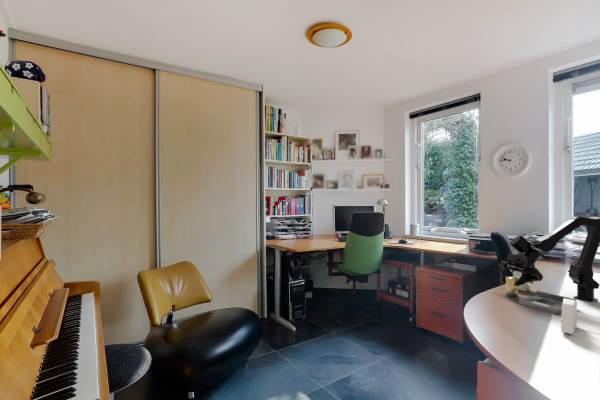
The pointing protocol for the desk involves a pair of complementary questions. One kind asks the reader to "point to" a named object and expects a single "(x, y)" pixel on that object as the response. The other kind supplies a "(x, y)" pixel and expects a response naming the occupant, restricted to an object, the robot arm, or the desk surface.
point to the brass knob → (511, 287)
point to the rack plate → (545, 298)
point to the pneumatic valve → (523, 286)
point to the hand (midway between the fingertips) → (509, 283)
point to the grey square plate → (512, 298)
